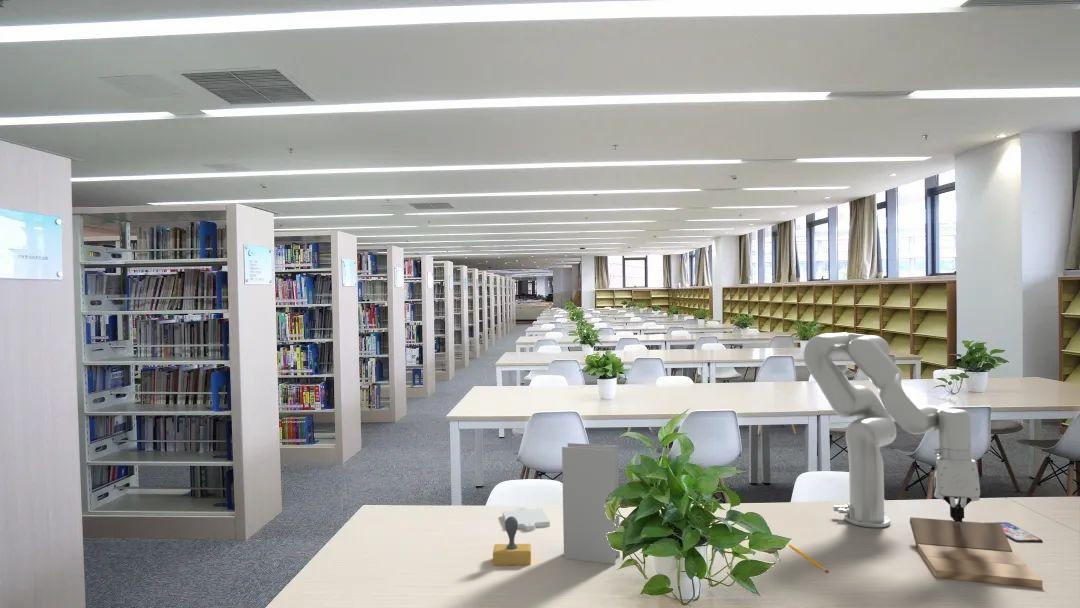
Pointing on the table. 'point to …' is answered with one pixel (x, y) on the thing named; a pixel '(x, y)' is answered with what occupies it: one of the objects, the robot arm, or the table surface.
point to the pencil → (809, 558)
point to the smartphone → (1017, 533)
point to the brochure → (588, 501)
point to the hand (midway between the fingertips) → (957, 520)
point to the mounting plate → (528, 518)
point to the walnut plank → (959, 534)
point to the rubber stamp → (512, 548)
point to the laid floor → (978, 565)
